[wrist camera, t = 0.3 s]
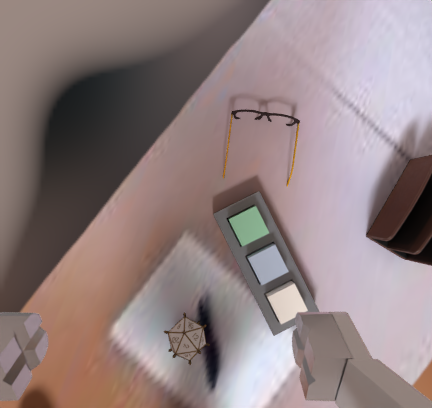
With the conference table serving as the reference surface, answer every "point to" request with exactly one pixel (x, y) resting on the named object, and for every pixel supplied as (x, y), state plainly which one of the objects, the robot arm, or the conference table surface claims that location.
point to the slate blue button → (267, 263)
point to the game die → (187, 338)
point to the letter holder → (408, 214)
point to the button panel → (269, 238)
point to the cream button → (286, 301)
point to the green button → (248, 225)
